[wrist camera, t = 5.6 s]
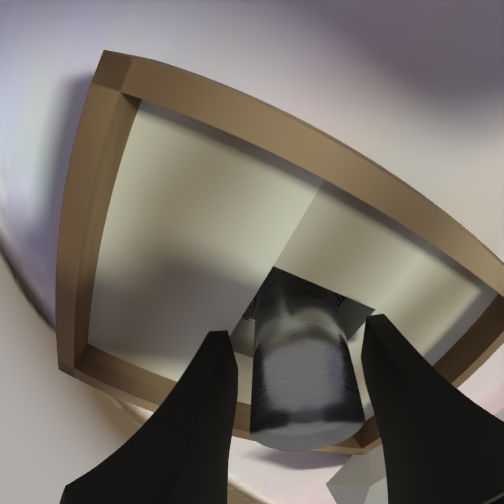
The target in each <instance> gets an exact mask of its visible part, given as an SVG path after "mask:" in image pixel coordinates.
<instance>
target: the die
mask: <svg viewBox="0 0 504 504" xmlns="http://www.w3.org/2000/svg"><path fill="white" fill-rule="evenodd" d="M326 485H327V487H328V489H329V490H330V492H331V494H332V496H333V497H334V499H335V501H336V503H337V504H388V491H387V479H386V468H385V460H384V453H383V446H382V444H381V445H379V446H378V447H376V448H374V449H373V450H371V451H369V452H368V453H366V454H364V455H354V454H353V455H352V456H351V458H350V459H349V460H348V461H347V462H346V463H345V464H344V465H343V466H342V468H341V469H340V470H339V471H338V472H337V473H336V474H335V475H334V476H333V477H332V478H331V479H330V480H329V481H328V482H327V483H326Z"/></svg>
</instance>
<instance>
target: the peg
mask: <svg viewBox="0 0 504 504" xmlns="http://www.w3.org/2000/svg"><path fill="white" fill-rule="evenodd" d="M364 421H365V415H364V410H363V406H362V401H361V397H360V392H359V388H358V384H357V380H356V375H355V371H354V367H353V363H352V359H351V355H350V351H349V347H348V343H347V340H346V336H345V332H344V328H343V325H342V321H341V317H340V314H339V310H338V307H337V303H336V300H335V296H334V293H333V291H331V290H329V289H326V288H324V287H322V286H319V285H317V284H315V283H312V282H310V281H307V280H305V279H303V278H300V277H298V276H296V275H293V274H291V273H289V272H286V271H284V270H282V269H279V268H277V267H275V266H273V267H272V269H271V270H270V272H269V274H268V275H267V277H266V278H265V280H264V282H263V283H262V285H261V287H260V288H259V290H258V291H257V293H256V305H255V328H254V349H253V371H252V392H251V412H250V434H251V436H252V437H253V439H254V440H256V441H257V442H258V443H260V444H262V445H264V446H267V447H270V448H274V449H279V450H287V451H305V450H314V449H320V448H324V447H328V446H331V445H334V444H337V443H339V442H342V441H344V440H346V439H348V438H349V437H351V436H352V435H354V434H355V433H356V432H358V431H359V430H360V428H361V427H362V426H363V424H364Z"/></svg>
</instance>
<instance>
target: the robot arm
mask: <svg viewBox="0 0 504 504" xmlns="http://www.w3.org/2000/svg"><path fill="white" fill-rule="evenodd" d="M361 363H362V368H363V374H364V379H365V384H366V388H367V391H368V394H369V398H370V401H371V405H372V408H373V411H374V415H375V418H376V422H377V426H378V429H379V433H380V437H381V441H382V446H383V453H384V460H385V468H386V479H387V491H388V504H504V422H503V421H501V420H500V419H498V418H496V417H495V416H493V415H492V414H490V413H489V412H487V411H486V410H484V409H483V408H481V407H480V406H478V405H477V404H476V403H474V402H473V401H472V400H470V399H469V398H468V397H466V396H465V395H464V394H463V393H461V392H460V391H459V390H458V389H457V388H455V387H454V386H453V385H452V384H451V383H450V382H448V381H447V380H446V379H445V378H444V377H443V376H442V375H441V374H440V373H439V372H438V371H437V370H436V369H435V368H434V367H433V366H432V365H431V364H430V363H429V362H428V361H427V360H426V359H425V358H424V357H423V356H422V355H421V354H420V353H419V352H418V351H417V350H416V349H415V348H414V347H413V346H412V344H411V343H410V342H409V341H408V340H407V339H406V338H405V337H404V336H403V334H402V333H401V332H400V331H399V330H398V329H397V328H396V326H395V325H394V324H393V323H392V322H391V321H390V320H389V318H388V317H387V316H386V315H385V314H377V315H371V316H366V322H365V330H364V337H363V344H362V350H361ZM237 397H238V366H237V362H236V359H235V355H234V352H233V348H232V344H231V341H230V337H229V334H228V330H222V331H209V332H208V333H207V335H206V337H205V338H204V340H203V342H202V344H201V345H200V347H199V349H198V351H197V352H196V354H195V356H194V357H193V359H192V360H191V362H190V364H189V365H188V367H187V368H186V370H185V371H184V373H183V374H182V376H181V378H180V379H179V381H178V382H177V383H176V385H175V386H174V388H173V389H172V390H171V392H170V393H169V394H168V396H167V397H166V398H165V400H164V401H163V402H162V404H161V405H160V406H159V407H158V409H157V410H156V411H155V412H154V413H153V415H152V416H151V417H150V418H149V419H148V420H147V421H146V422H145V424H144V425H143V426H142V427H141V428H140V429H139V430H138V431H137V432H136V433H135V434H134V435H133V436H132V437H131V438H130V439H129V440H128V441H127V442H126V443H125V444H123V445H122V446H121V447H120V448H119V449H118V450H117V451H115V452H114V453H113V454H112V455H110V456H109V457H108V458H107V459H105V460H104V461H103V462H102V463H100V464H99V465H98V466H96V467H95V468H93V469H92V470H90V471H89V472H87V473H86V474H84V475H83V476H81V477H79V478H78V479H76V480H75V481H73V482H71V483H70V484H68V485H66V486H65V489H64V491H63V494H62V497H61V501H60V504H227V481H228V459H229V450H230V443H231V437H232V431H233V424H234V418H235V411H236V404H237Z"/></svg>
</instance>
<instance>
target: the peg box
mask: <svg viewBox="0 0 504 504" xmlns="http://www.w3.org/2000/svg"><path fill="white" fill-rule="evenodd" d="M273 266H275V267H277V268H279V269H282V270H284V271H286V272H289V273H291V274H293V275H296V276H298V277H300V278H303V279H305V280H307V281H310V282H312V283H315V284H317V285H319V286H322V287H324V288H326V289H329V290H331V291H333V292H336V293H338V294H340V295H343V296H345V297H346V298H345V300H344V301H343V302H342V303H341V305H340V306H339V307H338V310H339V314H340V317H341V321H342V325H343V328H344V332H345V336H346V340H347V343H348V347H349V351H350V355H351V359H352V363H353V367H354V371H355V375H356V380H357V384H358V388H359V392H360V397H361V401H362V406H363V410H364V415H365V421H364V424H363V426H362V427H361V428H360V430H359V431H358V432H356V433H355V434H354V435H352V436H351V437H349V438H348V439H346V440H344V441H342V442H339V443H337V444H334V445H331V446H328V447H324V448H320V449H314V450H312V451H320V452H330V453H341V454H354V455H364V454H366V453H368V452H369V451H371V450H373V449H374V448H376V447H378V446H379V445H381V444H382V441H381V437H380V433H379V429H378V426H377V422H376V418H375V415H374V411H373V408H372V405H371V401H370V398H369V394H368V391H367V388H366V384H365V379H364V374H363V368H362V363H361V350H362V344H363V337H364V330H365V322H366V316H371V315H377V314H385V315H386V316H387V317H388V318H389V320H390V321H391V322H392V323H393V324H394V325H395V326H396V328H397V329H398V330H399V331H400V332H401V333H402V334H403V336H404V337H405V338H406V339H407V340H408V341H409V342H410V343H411V344H412V346H413V347H414V348H415V349H416V350H417V351H418V352H419V353H420V354H421V355H422V356H423V357H424V358H425V359H426V360H427V361H428V362H429V363H430V364H431V365H432V366H433V367H434V368H435V369H436V370H437V371H438V372H439V373H440V374H441V375H442V376H443V377H444V378H445V379H446V380H447V381H448V382H450V383H451V384H452V385H453V386H454V387H455V388H458V387H459V386H460V385H461V384H462V383H463V382H465V381H466V380H467V379H468V378H469V377H470V376H471V375H472V374H473V373H474V372H475V371H476V370H477V369H478V368H479V367H480V366H482V365H483V364H484V363H485V362H486V361H487V360H488V359H489V358H490V357H491V355H492V354H493V353H494V352H495V351H496V350H497V349H498V348H499V347H500V346H501V345H502V344H503V343H504V263H503V262H502V261H501V260H500V259H499V258H498V257H497V256H496V255H495V254H494V253H493V252H492V251H490V250H489V249H488V248H487V247H486V246H485V245H484V244H483V243H482V242H480V241H479V240H478V239H477V238H476V237H475V236H474V235H472V234H471V233H470V232H469V231H468V230H467V229H465V228H464V227H463V226H462V225H461V224H459V223H458V222H457V221H456V220H454V219H453V218H452V217H451V216H449V215H448V214H447V213H446V212H444V211H443V210H442V209H441V208H439V207H438V206H437V205H435V204H434V203H433V202H431V201H430V200H429V199H427V198H426V197H425V196H423V195H422V194H421V193H419V192H418V191H416V190H415V189H414V188H412V187H411V186H409V185H408V184H407V183H405V182H404V181H402V180H401V179H399V178H398V177H396V176H395V175H393V174H392V173H390V172H389V171H387V170H386V169H384V168H383V167H381V166H380V165H378V164H377V163H375V162H374V161H372V160H370V159H369V158H367V157H366V156H364V155H362V154H361V153H359V152H357V151H356V150H354V149H352V148H351V147H349V146H347V145H346V144H344V143H342V142H341V141H339V140H337V139H335V138H334V137H332V136H330V135H328V134H326V133H325V132H323V131H321V130H319V129H317V128H315V127H314V126H312V125H310V124H308V123H306V122H304V121H302V120H300V119H298V118H296V117H294V116H292V115H290V114H288V113H286V112H284V111H282V110H280V109H278V108H276V107H274V106H272V105H270V104H268V103H265V102H263V101H261V100H259V99H257V98H254V97H252V96H250V95H248V94H245V93H243V92H241V91H238V90H236V89H234V88H231V87H229V86H226V85H224V84H221V83H219V82H216V81H214V80H211V79H208V78H206V77H203V76H200V75H198V74H195V73H192V72H189V71H187V70H184V69H181V68H178V67H175V66H172V65H169V64H166V63H162V62H159V61H156V60H152V59H147V58H143V57H138V56H134V55H129V54H124V53H118V52H113V51H107V50H104V51H103V54H102V56H101V59H100V61H99V64H98V66H97V69H96V72H95V75H94V78H93V80H92V83H91V86H90V89H89V92H88V95H87V99H86V102H85V105H84V108H83V112H82V115H81V119H80V123H79V126H78V130H77V134H76V138H75V142H74V146H73V151H72V155H71V160H70V165H69V170H68V175H67V180H66V186H65V192H64V198H63V205H62V212H61V220H60V229H59V239H58V251H57V267H56V339H57V354H58V365H59V370H61V371H63V372H65V373H67V374H68V375H71V376H72V377H74V378H76V379H79V380H80V381H82V382H84V383H86V384H89V385H90V386H93V387H95V388H97V389H99V390H101V391H103V392H105V393H108V394H110V395H112V396H114V397H117V398H119V399H122V400H124V401H126V402H129V403H131V404H134V405H136V406H139V407H141V408H144V409H147V410H149V411H152V412H155V411H156V410H157V409H158V407H159V406H160V405H161V404H162V402H163V401H164V400H165V398H166V397H167V396H168V394H169V393H170V392H171V390H172V389H173V388H174V386H175V385H176V383H177V382H178V381H179V379H180V378H181V376H182V374H183V373H184V371H185V370H186V368H187V367H188V365H189V364H190V362H191V360H192V359H193V357H194V356H195V354H196V352H197V351H198V349H199V347H200V345H201V344H202V342H203V340H204V338H205V337H206V335H207V333H208V332H209V331H222V330H228V334H229V337H230V341H231V344H232V348H233V352H234V355H235V359H236V362H237V366H238V397H237V404H236V411H235V418H234V424H233V431H232V436H235V437H239V438H243V439H248V440H252V441H256V440H254V439H253V437H252V436H251V434H250V412H251V392H252V371H253V349H254V328H255V323H254V322H251V321H249V320H246V319H243V318H241V317H242V316H243V314H244V313H245V311H246V309H247V308H248V306H249V304H250V303H251V301H252V300H253V298H254V296H255V295H256V293H257V291H258V290H259V288H260V287H261V285H262V283H263V282H264V280H265V278H266V277H267V275H268V274H269V272H270V270H271V269H272V267H273Z"/></svg>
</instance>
